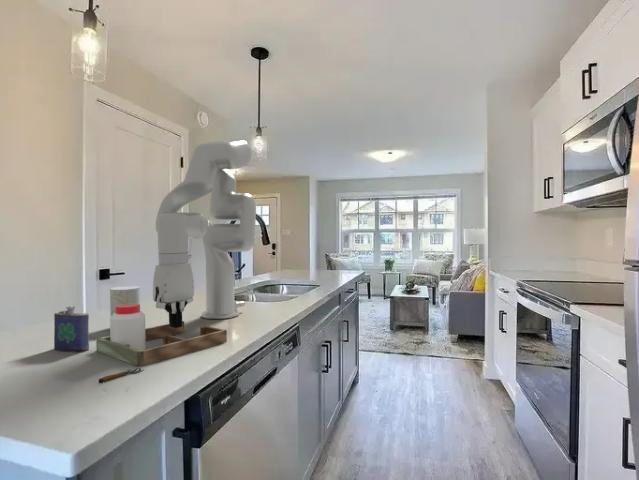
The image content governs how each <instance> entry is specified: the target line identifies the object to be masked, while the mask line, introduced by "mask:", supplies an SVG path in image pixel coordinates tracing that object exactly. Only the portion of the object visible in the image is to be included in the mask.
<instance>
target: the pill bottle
mask: <svg viewBox="0 0 639 480" xmlns="http://www.w3.org/2000/svg"><path fill="white" fill-rule="evenodd" d="M145 329H146V314H145V313H144V312H143V311H142V310H141V303H140V304H134V303H133V304H121V305H117V306H115V313H114V314H113V315H112V316H111V317H110V316H109V336H110V341H112V342H115V343H118V344H121V345H126V344H129V345H130V347H131V348H134V349H137V350H140V351H143V350H147V349H146V345H147V344H146V343H147V342H146V334H145Z"/></svg>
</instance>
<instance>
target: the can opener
mask: <svg viewBox="0 0 639 480" xmlns="http://www.w3.org/2000/svg"><path fill="white" fill-rule="evenodd" d="M135 371H136V372H135ZM144 371H145V369H141V367H140V366H137V367H136V368H134V369H133V370H131V369H127V370H126V371H121V372H118V373H115V374H110V375H105V376H103V377H100V378H99V379H98V384H104V383H107V381H108V382H110V380H111V381H113V379H114V380H116V379H118V378H123V377H124V376H125V377H126V376H128V375H136V374H139V373H142V372H144ZM103 382H104V383H103Z"/></svg>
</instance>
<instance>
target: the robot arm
mask: <svg viewBox="0 0 639 480" xmlns="http://www.w3.org/2000/svg"><path fill="white" fill-rule="evenodd" d="M251 159H252V148H251V147H250V145H249V143H248V142H247V141H246V140H241V139H240V140H215V141H209V142H202V143H200V144H198V145H196V146H195V148H193V151H192V155H191V157H190V160H189V164H188V168H187V170H186V174H185V176H184V180H183V181H182V182H180V183H179V184H177V185H176V186H175V187H174V188H173V189H172V190H171V191H170V192H168V193H167V195H166V196H165V197H164V198H163V200H162V201H161V203H160V206H159V209H158V211H157V215H156V219H155V231H156V233H157V251H158V257H157V258H158V265H155V268H154V273H153V281H152V299H153V302H155V303H156V304H155V308H156V309H161V310H165V312H166V313H168V324H170V327H173V328H178V327H182V321H183V313H184V312H185V308H186V306H187V305H188V304H191V303H192V302H194V295H195V283H194V282H195V281H194V275H193V274H194V272H193V269H192V265H191V263H190V262H189V261H190V260H189V259H192V254H191V253H189V240H194V239H195V240H196V239H201V238H202V243H203V249H204V256H205V310H204V311H202V312H201V314H200V316H201V317H202V318H204V319H207V320H209V319H210V320H221V319H222V320H223V319H231V318H235V317H238V316H239V315H240V311H239V310H238V308H242V307H245V305H246V304H245V301H243V300H240V301H237V300H235V263H234V260H233V258H232V257H231V256H230V253H231V252H234V253H235V252H237V253H238V252H249V251H251V250H252V249H253V247H254V245H255V238H256V237H255V236H256V220H257V219H256V218H257V204H256V201H255V197H253V195H252V194H250V193H246V192H238V193H237V180H236V177H235V175H234V174H233V173H232V172H231V171H230V170H237V169H240V168H243V167H245V166H247V165H249V164H250V161H251ZM209 194H210V199H209V214H210V216H211V217H210V218H212V220H213V219H214V221H215V220H216V221H220V222H221V221H223V222H230V221H231V222H232V221H233V222H236V221H238V222H239V223H213V224H210V225H209V222H208V219H207V217H206V216H205V215H204V214H201V212H200V213H199V212H183V211H182V212H179V211H180V210H181V209H182V208H183V207H184V206H187V205H188V204H190V203H192V202H194V201H197V200H199V199H201V198H203V197H206V196H207V195H209ZM229 252H230V253H229Z"/></svg>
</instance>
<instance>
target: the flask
mask: <svg viewBox="0 0 639 480" xmlns="http://www.w3.org/2000/svg"><path fill="white" fill-rule="evenodd" d="M75 308H76V307H75V306H65V309H67V310H62V311H61V310H60V311H58V312H55V313H54V315H53V316H54V321H53V322H54V324H53V325H54V328H53V329H54V334H53V335H54V339H53V340H54V343H53V344H54V346H53V350H54V351H56V352H73V353H74V352H76V353H80V352H81V353H82V352H88V351H89V349H90V341H89V340H90V339H89V338H90V334H89V333H90V332H89V318H90V316H89V313H87V312H86V313H79V312H78V313H77V312H75Z"/></svg>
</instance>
